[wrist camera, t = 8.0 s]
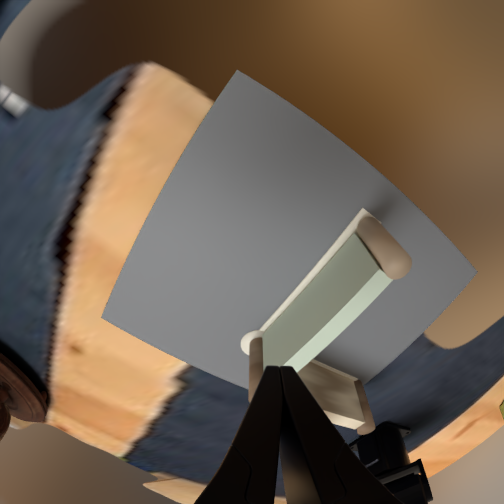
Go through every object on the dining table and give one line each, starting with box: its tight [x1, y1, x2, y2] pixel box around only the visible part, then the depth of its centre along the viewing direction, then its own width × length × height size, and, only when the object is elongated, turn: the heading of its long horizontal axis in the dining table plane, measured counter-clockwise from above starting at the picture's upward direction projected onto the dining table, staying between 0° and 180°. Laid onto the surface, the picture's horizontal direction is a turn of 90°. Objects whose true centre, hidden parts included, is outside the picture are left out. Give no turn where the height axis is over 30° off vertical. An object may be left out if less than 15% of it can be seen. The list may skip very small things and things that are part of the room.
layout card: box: [101, 70, 477, 389], centre depth 22 cm, size 24×21×1 cm
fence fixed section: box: [249, 337, 375, 435], centre depth 23 cm, size 13×2×6 cm, turn 56°
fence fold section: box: [262, 217, 412, 372], centre depth 19 cm, size 12×2×5 cm, turn 146°
